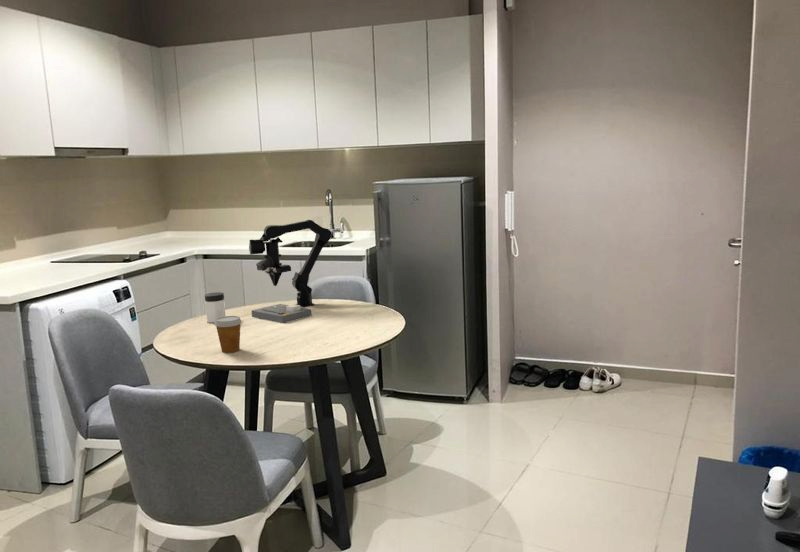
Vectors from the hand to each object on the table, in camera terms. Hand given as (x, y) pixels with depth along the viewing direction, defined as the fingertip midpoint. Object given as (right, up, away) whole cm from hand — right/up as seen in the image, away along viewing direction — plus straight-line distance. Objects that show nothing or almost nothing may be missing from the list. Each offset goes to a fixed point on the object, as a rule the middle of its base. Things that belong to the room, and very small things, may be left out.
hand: (275, 285), depth 306 cm
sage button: (+4, -12, -9) cm, 15 cm away
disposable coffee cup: (-4, -23, -66) cm, 70 cm away
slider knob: (+7, -11, -22) cm, 26 cm away
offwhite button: (+11, -11, -16) cm, 23 cm away
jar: (-23, -15, -17) cm, 32 cm away
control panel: (+6, -13, -15) cm, 21 cm away
